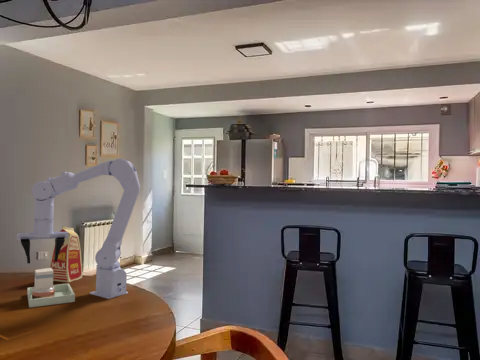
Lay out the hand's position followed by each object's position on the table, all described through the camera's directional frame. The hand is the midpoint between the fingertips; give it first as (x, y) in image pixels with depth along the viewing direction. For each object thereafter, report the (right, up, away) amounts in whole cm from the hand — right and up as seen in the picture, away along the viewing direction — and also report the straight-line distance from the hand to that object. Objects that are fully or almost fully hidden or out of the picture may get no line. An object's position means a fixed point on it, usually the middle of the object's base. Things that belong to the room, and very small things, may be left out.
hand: (42, 261), depth 122 cm
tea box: (+4, -6, -7) cm, 10 cm away
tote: (+5, -11, -5) cm, 12 cm away
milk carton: (-1, -11, +19) cm, 22 cm away
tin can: (+4, -10, -7) cm, 13 cm away
